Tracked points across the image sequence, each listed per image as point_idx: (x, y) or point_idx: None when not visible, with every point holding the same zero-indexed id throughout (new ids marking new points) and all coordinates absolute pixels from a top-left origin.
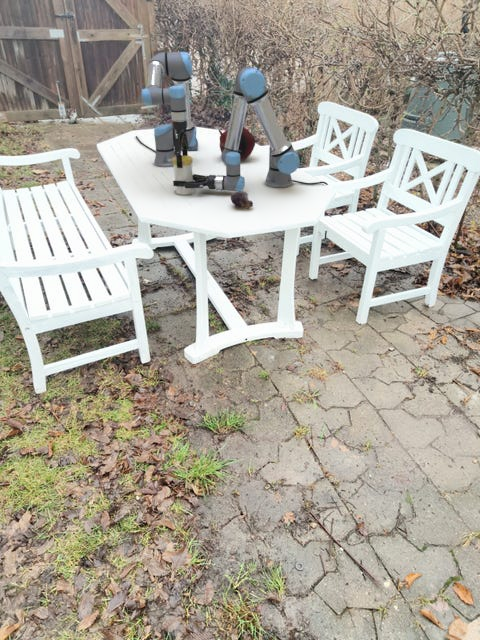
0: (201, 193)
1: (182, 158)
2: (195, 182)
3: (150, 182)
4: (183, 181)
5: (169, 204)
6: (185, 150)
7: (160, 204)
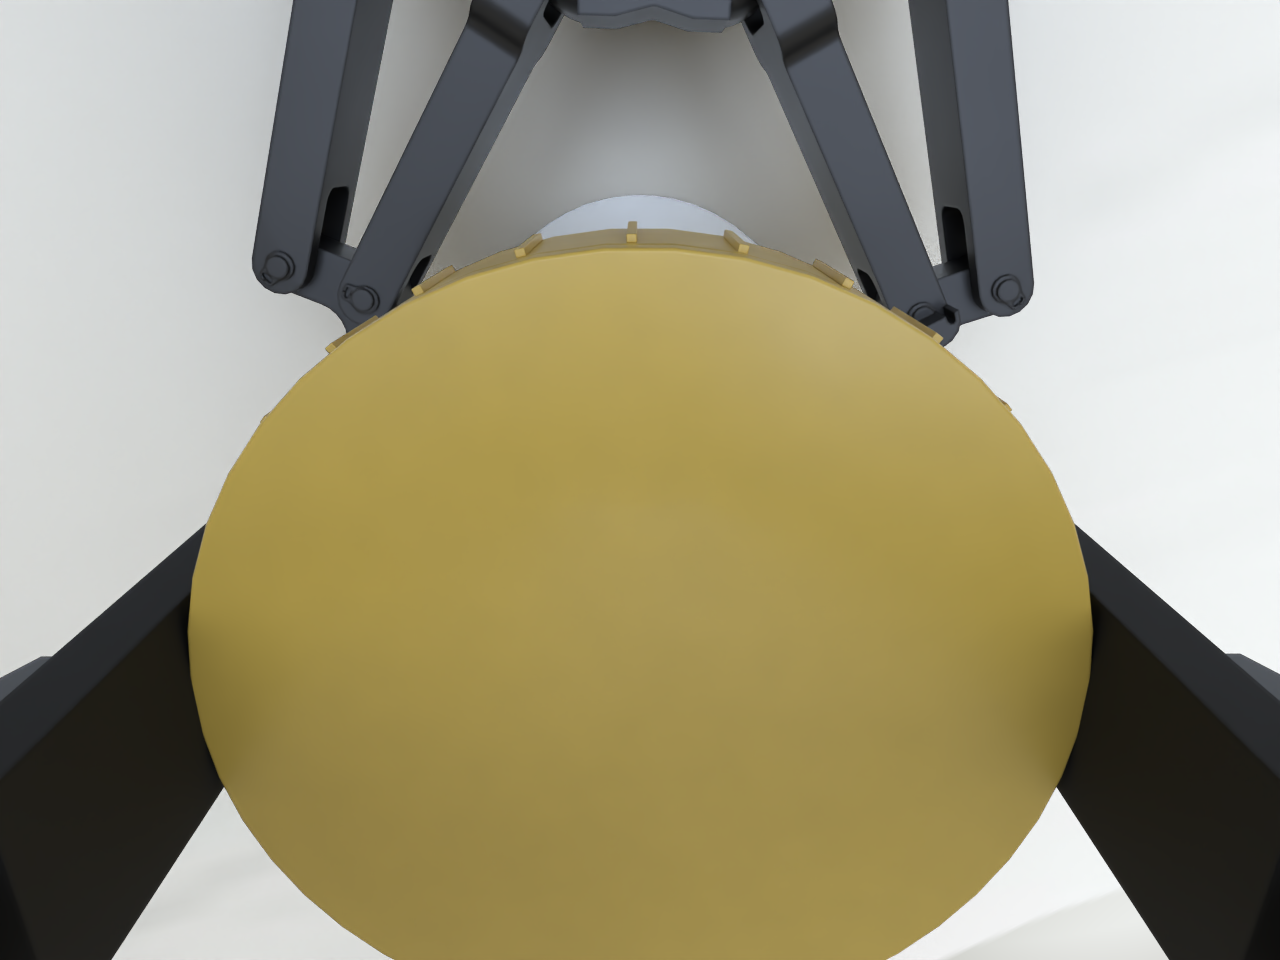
0: None
1: (696, 686)
2: (851, 77)
3: (325, 937)
4: None
5: (1266, 440)
6: (42, 839)
7: (1251, 567)
